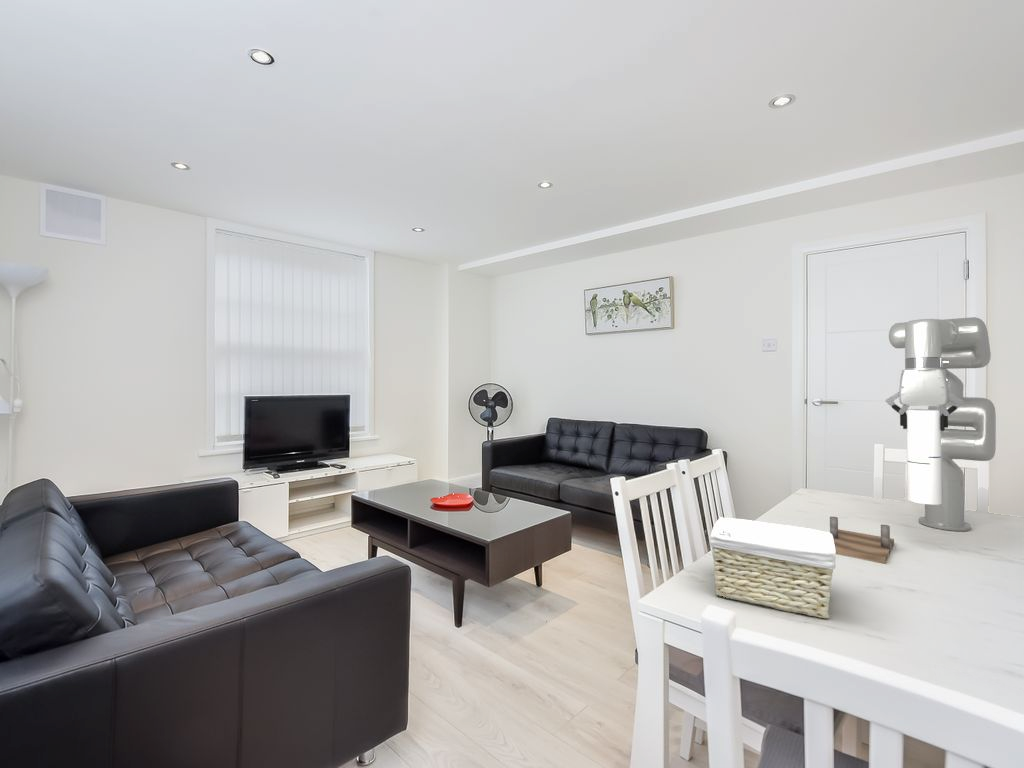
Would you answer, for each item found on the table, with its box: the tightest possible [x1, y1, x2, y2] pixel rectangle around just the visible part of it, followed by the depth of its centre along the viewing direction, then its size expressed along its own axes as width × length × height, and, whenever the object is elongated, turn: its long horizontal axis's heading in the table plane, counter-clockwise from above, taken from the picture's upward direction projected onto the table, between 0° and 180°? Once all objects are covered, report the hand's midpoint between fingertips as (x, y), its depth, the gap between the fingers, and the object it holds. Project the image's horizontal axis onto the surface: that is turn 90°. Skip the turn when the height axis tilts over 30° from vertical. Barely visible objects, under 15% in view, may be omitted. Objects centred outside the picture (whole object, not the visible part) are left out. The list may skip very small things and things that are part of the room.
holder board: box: [829, 516, 895, 564], centre depth 136 cm, size 20×14×8 cm
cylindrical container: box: [906, 408, 942, 505], centre depth 130 cm, size 7×7×25 cm
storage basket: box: [709, 516, 837, 619], centre depth 107 cm, size 24×16×15 cm
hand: (923, 429), depth 130 cm, fingers closed on cylindrical container, 7 cm apart
